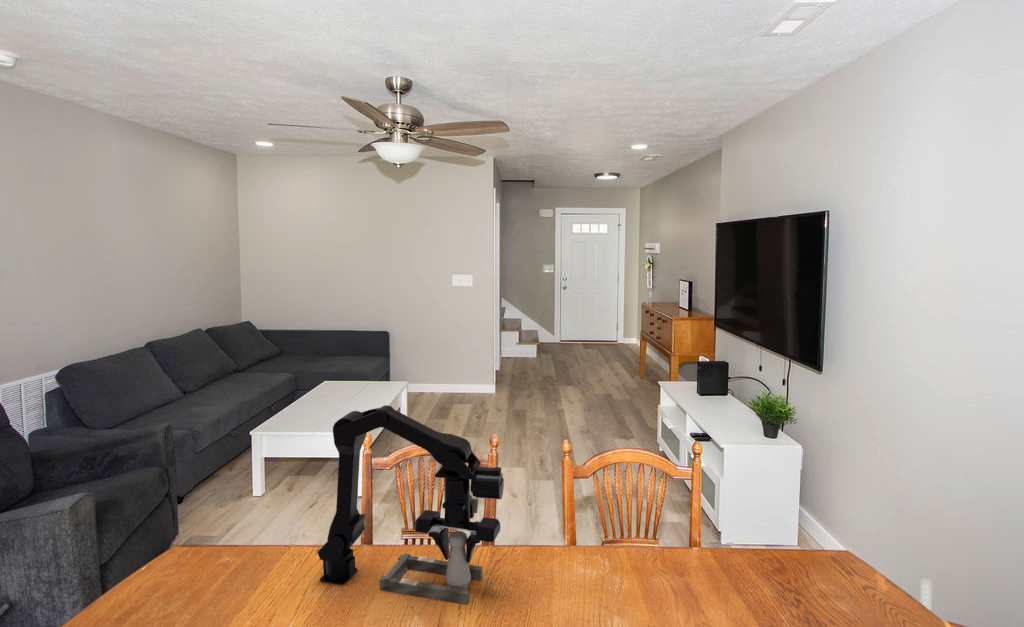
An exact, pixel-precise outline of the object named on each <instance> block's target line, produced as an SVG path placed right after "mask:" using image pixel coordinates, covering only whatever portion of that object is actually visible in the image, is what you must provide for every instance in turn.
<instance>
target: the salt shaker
mask: <svg viewBox="0 0 1024 627" xmlns="http://www.w3.org/2000/svg"><path fill="white" fill-rule="evenodd" d="M467 538H468V536H467V533H466V532H465V531H464V530H454V531H452V532H451V533H449V534H448V542H449V559H448V560H447V562H448V566H447V572H446V575H445V582H446V584H447V587H453V588H459V589H465V590H468V587H469V584H470V582H471V580H472V579H471V574H470V569H469V565H470V564H469V563H467V559H466V540H467Z"/></svg>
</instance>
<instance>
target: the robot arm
mask: <svg viewBox="0 0 1024 627" xmlns="http://www.w3.org/2000/svg"><path fill="white" fill-rule="evenodd" d="M379 428H383V429H385V430H387V431H388V432H390V433H393V434H394V435H396V436H399V437H401V438H402V439H404V440H406V441H407V442H409V443H412V444H414V445H416V446H417V447H419V448H421V449H423V450H425V452H428V453H429V454H430V456H431V457H432V458H433V459H434V460H435V461H436V462H437V463H438V464H440V465H441V467H440V468H438V470H437V471H436V473H434V477H435V478H438V479H439V478H441V479H443V483H444V484H443V488H444V490H443V491H444V493H443V494H444V501H443V503H442V509H444V518H443V517H441V513H440V511H437V510H428V509H425V510H423V512H421V514H420V515H419V516H418V517H417V518H416V519H415V522H414V531H415V532H416V533H420V534H428V537H430V538H432V540H433V541H434V542H435V543H436V545H437V546H438V549H439V550H440V552H441V553H442V555H443V558H444V559H445V561H448V560H449V554H450V545H449V542H448V538H449V529H452V530H457V531H464V532H465V531H466V532H467V531H468V532H469V536H467V540H466V545H465V549H466V559H467V563H468V564H470V562H471V560H472V557H473V555H474V551H475V548H476V545H477V544H480V543H481V542H485V543H486V542H487V543H493V542H494V541H495V540H496V539H497V537H498V535H499V533H500V531H501V522H500V521H499V519H498V518H491V517H485V516H484V517H482V518H481V519H480V521H479V520H477V521H471V519H474V517H475V514H477V513H478V506H479V499H486V500H487V499H489V500H502V498H503V495H504V486H505V485H504V484H505V478H504V477H503V476H504V475H503V472H502V468H501V467H499V466H498V467H497V466H495V467H486V466H485V467H484V466H481V465H482V464H481V462H480V460H479V459H478V457H477V456H476V454H475V453H474V452H473V451H472V446H471V442H469V440H468V439H466V438H464V437H461V436H458V435H455V434H452V433H446V432H445V433H443V432H440V431H436V430H435V429H432V428H431V427H428V426H427V425H425V424H423V423H421V422H419V421H417V420H415V419H414V418H411V417H409V416H407V415H406V414H403V412H400V411H398V410H396V409H395V408H394V407H392V406H391V405H387V404H386V405H383V406H381V407H376V408H372V409H368V410H365V411H359V410H352V411H350V412H348V413H347V414H345V415H344V416H342V417H341V418H339V419H338V420H336V421H335V423H334V424H333V426H332V435H333V436H332V438H333V445H334V446H335V449H336V450H337V453H338V464H337V465H338V466H337V467H338V468H337V469H338V471H337V488H336V506H335V508H336V511H335V514H334V517H333V520H332V521H331V524H330V526H329V530H328V534H327V539H326V540H327V541H326V542H325V543H324V544H323V545H322V546H321V547H320V548H319V550H318V551H317V555H318V557H319V560H320V561H322V567H323V575H322V576H321V577H320V578H319V582H321V583H322V582H324V583H328V584H334V585H340V586H344V585H346V583H348V581H350V579H351V578H352V577H353V576H354V575H355V574H356V573H357V572H358V567H356V558H355V555H354V549H351V547H352V546H353V545H354V544H355V543H356V541H357V540H358V539H359V538H360V537H361V535H362V534H363V532H364V531H365V530H366V527H365V519H366V514H363V513H362V514H361V513H360V511H359V510H358V497H359V496H358V495H359V494H358V493H359V477H360V476H359V473H360V461H361V460H360V457H361V455H360V454H361V449H362V448H363V445H364V442H365V440H366V437H367V433H369V432H372V431H374V430H377V429H379ZM467 464H468V465H467ZM471 494H472V495H471ZM473 497H475V498H473Z"/></svg>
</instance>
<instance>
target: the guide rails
mask: <svg viewBox="0 0 1024 627" xmlns="http://www.w3.org/2000/svg"><path fill="white" fill-rule="evenodd" d="M397 560H398V561H397V562H396V563H395V564H394V565H393V566H392V568H390V570H389V571H388V572H387V573H386V575H385V576H384V575H382V576H381V577H380V579H379V580H378V581H379V591H382V592H383V591H384V592H389V593H395V594H400V595H401V594H402V595H407V596H413V597H417V598H418V597H419V598H424V599H425V598H426V599H431V600H437V601H441V602H442V601H443V602H449V603H452V604H453V603H454V604H460V605H468V603H469V602H470V590H469V589H467V590H465V589H459V588H453V587H449V586H448V585H447V586H446V585H439V584H434V583H427V582H421V581H419V580H417V579H416V580H414V579H410V578H409V579H408V578H402V577H403V576H404V575H405V573H406V572H407V571H408V570H413V571H418V570H419V572H425V571H427V572H426V573H431V572H432V573H431V574H437V573H438V574H439V575H444V576H446V572H447V566H448V560H439V559H436V558H433V557H426V556H412V555H411V553H406V552H404V553H403V554H400V555H399V556H398V557H397ZM468 565H469V569H470V574H471V580H476V581H481V580H482V578H483V566H480V565H473V564H468Z"/></svg>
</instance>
